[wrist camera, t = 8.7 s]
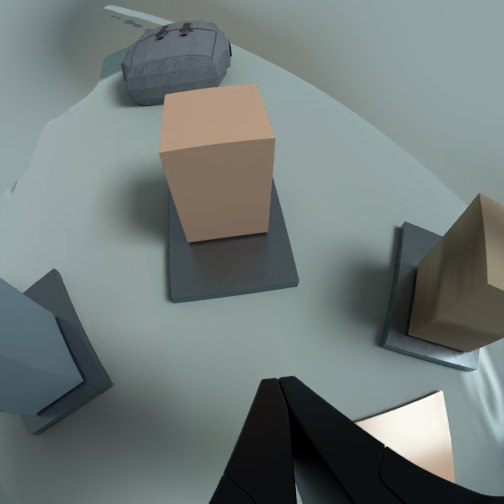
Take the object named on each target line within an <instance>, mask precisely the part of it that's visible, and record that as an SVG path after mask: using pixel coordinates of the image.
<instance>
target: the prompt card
mask: <svg viewBox="0 0 504 504" xmlns="http://www.w3.org/2000/svg"><path fill="white" fill-rule="evenodd" d="M354 423H356V424H357V425H358V426H360V427H361V428H362V429H364V430H365V431H367V432H368V433H369V434H371V435H372V436H373V437H375V438H376V439H378V440H379V441H381V442H382V443H383V444H385V447H386V446H388V447H389V448H391V449H392V450H394V451H395V452H397V453H398V454H400V455H401V456H403V457H404V458H406V459H408V460H409V461H411V462H412V463H414V464H416V465H418V466H419V467H421V468H423V469H425V470H427V471H429V472H431V473H433V474H435V475H437V476H439V477H442V478H444V479H446V480H448V481H451V482H453V483H455V479H454V466H453V455H452V446H451V438H450V431H449V424H448V418H447V412H446V406H445V401H444V396H443V391H442V390H441V391H437V392H435V393H432V394H430V395H428V396H426V397H423V398H421V399H418V400H416V401H413V402H411V403H408V404H406V405H403V406H401V407H398V408H395V409H393V410H390V411H387V412H384V413H381V414H378V415H375V416H372V417H369V418H366V419H363V420H360V421H356V422H354Z"/></svg>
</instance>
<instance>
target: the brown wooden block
mask: <svg viewBox="0 0 504 504" xmlns="http://www.w3.org/2000/svg"><path fill="white" fill-rule="evenodd" d="M408 335H411V336H414V337H417V338H421V339H424V340H427V341H430V342H434V343H437V344H440V345H444V346H447V347H450V348H454V349H457V350H461V351H464V352H467V353H469V352H471V351H474V350H476V349H479V348H481V347H483V346H486V345H488V344H490V343H493V342H495V341H497V340H499V339H502V338H504V206H502V205H501V204H499V203H497V202H495V201H493V200H492V199H490V198H488V197H486V196H484V195H482V194H480V193H479V194H478V195H477V197H476V198H475V199H474V200H473V201H472V203H471V204H470V206H468V208H467V209H466V210H465V211H464V213H463V214H462V215H461V216H460V217H459V219H458V220H457V221H456V222H455V223H454V224H453V226H452V227H451V228H450V229H449V230H448V231H447V233H446V234H445V235H444V236H443V237H442V238H441V239H440V240H439V242H438V243H437V244H436V245H435V246H434V247H433V248H432V249H431V250H430V251H429V252H428V254H427V255H426V256H425V257H424V258H423V259H422V260H421V261H420V262H419V263H418V269H417V278H416V287H415V294H414V302H413V308H412V315H411V321H410V327H409V332H408Z"/></svg>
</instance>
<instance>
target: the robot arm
mask: <svg viewBox="0 0 504 504" xmlns="http://www.w3.org/2000/svg"><path fill="white" fill-rule="evenodd" d="M223 474H224V475H222V477H221V479H220V481H219V484H218V486H217V488H216V490H215V492H214V494H213V496H212V498H211V500H210V502H209V504H297V498H296V486H297V489H298V491H299V494H300V497H301V500H302V503H303V504H504V496H489V495H484V494H480V493H477V492H474V491H472V490H469V489H467V488H465V487H462V486H460V485H457V484H455V483H453V482H451V481H448V480H446V479H444V478H442V477H439V476H437V475H435V474H433V473H431V472H429V471H427V470H425V469H423V468H421V467H419V466H418V465H416V464H414V463H412V462H411V461H409V460H408V459H406V458H404V457H403V456H401V455H400V454H398V453H397V452H395V451H394V450H392V449H391V448H389V447H388V446H386V447H385V444H383V443H382V442H381V441H379V440H378V439H376V438H375V437H373V436H372V435H371V434H369V433H368V432H367V431H365V430H364V429H362V428H361V427H360V426H358V425H357V424H356V423H354V422H353V421H352V420H350V419H349V418H348V417H346V416H345V415H344V414H342V413H341V412H340V411H338V410H337V409H336V408H334V407H333V406H332V405H330V404H329V403H328V402H327V401H325V400H324V399H323V398H321V397H320V396H319V395H318V394H316V393H315V392H314V391H312V390H311V389H310V388H309V387H307V386H306V385H305V384H304V383H302V382H301V381H300V380H299V379H298V378H296V377H295V376H288V377H280V378H279V379H277V378H270V379H263V380H261V382H260V385H259V387H258V390H257V392H256V395H255V398H254V400H253V403H252V405H251V408H250V410H249V413H248V415H247V418H246V420H245V423H244V425H243V428H242V430H241V433H240V435H239V437H238V440H237V442H236V445H235V447H234V449H233V452H232V454H231V457H230V459H229V461H228V464H227V466H226V468H225V471H224V473H223ZM295 483H296V486H295Z"/></svg>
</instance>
